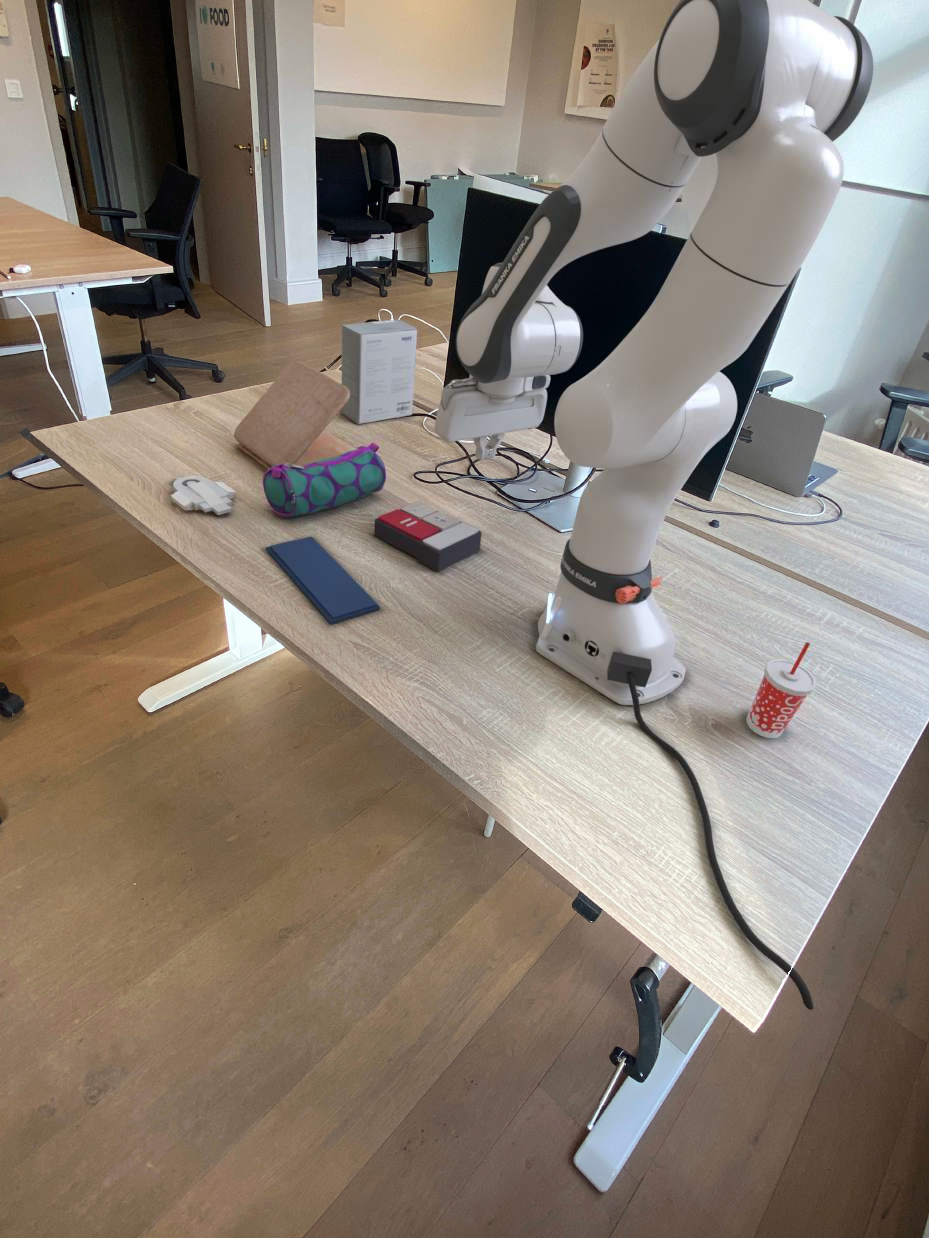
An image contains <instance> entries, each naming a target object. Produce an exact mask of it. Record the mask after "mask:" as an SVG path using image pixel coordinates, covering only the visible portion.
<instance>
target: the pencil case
mask: <svg viewBox="0 0 929 1238" xmlns="http://www.w3.org/2000/svg"><path fill="white" fill-rule="evenodd" d="M356 448H357V449H356V450H352V451H348V452H346V453H344V454H342V455H338V456H335V457H332V458H328V459H324V460H321V461H317V462H314V463H311V464H309V465H304V466H299V465H293V464H290V463H285V464H276V465H274V466H273V467H271V468H270V469H267V470H266V471H265V473H264V475H263V477H262V487H263V488H262V489H263V492H264V495H265V498H266V500H267V503H268V505H269V507H270V508H271V509H272V510H273V512H275V514H277V516H279V517H282V518H294V517H297V516H304V515H311V514H315V513H318V512H321V511H326V510H329V509H333V508H336V507H340V506H342V505H344V504H348V503H351V502H353V501H357V500H358V499H362V498H364V497H367V496H370V495H372V494H375V493H379V492H380V491H381V490H382V489H383V488H384V486H385V483H386V479H387V472H386V471H387V469H386V467H385V463H384V461H383V459H382V458H381V456H380V455H379V454H377V452H378V451H379V449H380V446H379V445H378V444H376V443H375V442H371V443H370V444H369V445H368V446H365V445H361V446H358V447H356ZM288 464H289V465H288Z"/></svg>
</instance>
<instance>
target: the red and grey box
mask: <svg viewBox="0 0 929 1238" xmlns="http://www.w3.org/2000/svg"><path fill="white" fill-rule="evenodd" d="M373 532H374V536H375V537H377V538H379V539H380V540H382V541H385V542H387V543H388V544H390V545H392V546H394V547H396V548H398V549H400V550H402V551H404V552H406V553H407V554H410V555H411V556H412V557H415V558H416V559H417V560H418V561H419V563H420V564H421V565H424V566H425V567H428V568H430V569H432V570H434V571H436V572H439V571H441V570H444V569H446V568H448V567H449V566H452V565H454V564H455V563H458V562H460V561H461V560H463V559H465V558H467V557H470V556H471V555H474V554H476V553H477V552H479V551H480V549H481V542H482V531H481V530H479V529H478V528H476V527H473V526H471V525H469V524H467V523H465V522H462V521H461V520H460V519H459V518H456V517H455V516H452V515H450V514H448V513H446V512H444V511H441V510H439V511H438V509H437V508H436V507H433V506H432V505H429V504H426V503H425V502H422V501H420V500H417V501H414V502H412V503H410V504H407V505H405V506H402V507H400V509H397V508H396V509H394V510H392V511H389V512H386V513H384V514H382V515H379V516H378V517H377V518H374V530H373Z"/></svg>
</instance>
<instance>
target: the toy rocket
mask: <svg viewBox="0 0 929 1238" xmlns="http://www.w3.org/2000/svg"><path fill="white" fill-rule="evenodd" d="M171 480H172V484H173V493H172V494H170V501H172V502H173V503H175V504H176V505H177V506H178V507H180V508H181V509H182V510H184V511H198V510H201V511H203V512H204V513H209V512H214V514H216V515H218V516H221V515H225V514H228V513H231V512H233V507H232V506H233V501H232V499H234V498H236V497H237V491H235V490H234V489H232V488H231V487H230V486H228V485H227V484H226V483H224V482H223V481H214V482H213V481H212V480H211V479H209V478H207V477H203V476H199V475H187V476H179V477H175V478H171Z"/></svg>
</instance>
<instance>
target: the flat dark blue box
mask: <svg viewBox="0 0 929 1238" xmlns="http://www.w3.org/2000/svg"><path fill="white" fill-rule="evenodd" d="M265 551H266V552H267V553H268V554H269V555H270V556H271V558H272V560H274V561H275V562H276V564H278V566H279V567H280V568H281V569H282V571H284V573H285V574H286V575H287V576H288V577H289V578H290V580H291V581H292V582H293V583H294V585H295V586H296V587H297V588H298V589H299V590H300V591H301V592H302V593H303V594H304V596H305V597H306V598H307V599H308V600H309V602H310V603H311V605H313V606H314V607H315V608H316V609H317V611H318V612H319V613H320V614H321V615H322V616H323V617H324V619H325V620H326V621H327V622H328V624H329V625H333V624H337V623H341V622H343V621H346V620H349V619H353V618H357V617H360V616H363V615H366V614H369V613H373V612H375V611H376V612H377V611H379V610H380V608H381V607H380V605H379V604H378V603H377V602H376V601H375V599H373V598H372V597H371V596H370V594H369V593H367V591H365V590H364V588H363V587H361V585H360V584H359V583H358V582H357V581H356V580H355V579H354V578H353V577H352V576H351V575H350V574H349V573H348V572H347V571H346V570H345V569H344V568H343V567H342V566H341V565H340V564H339V563H338V562H337V561H336V560H335V558H334V557H332V556H331V554H330V553H328V551H327V550H326V549H325V548H324V547H323V546H322V545H320V543H319V542H318V541H317V540H316V539H315V538H314V537H313V536H307V537H302V538H298V539H294V540H290V541H284V542H280V543H276V544H271V545H269V546H267V547H265Z"/></svg>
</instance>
